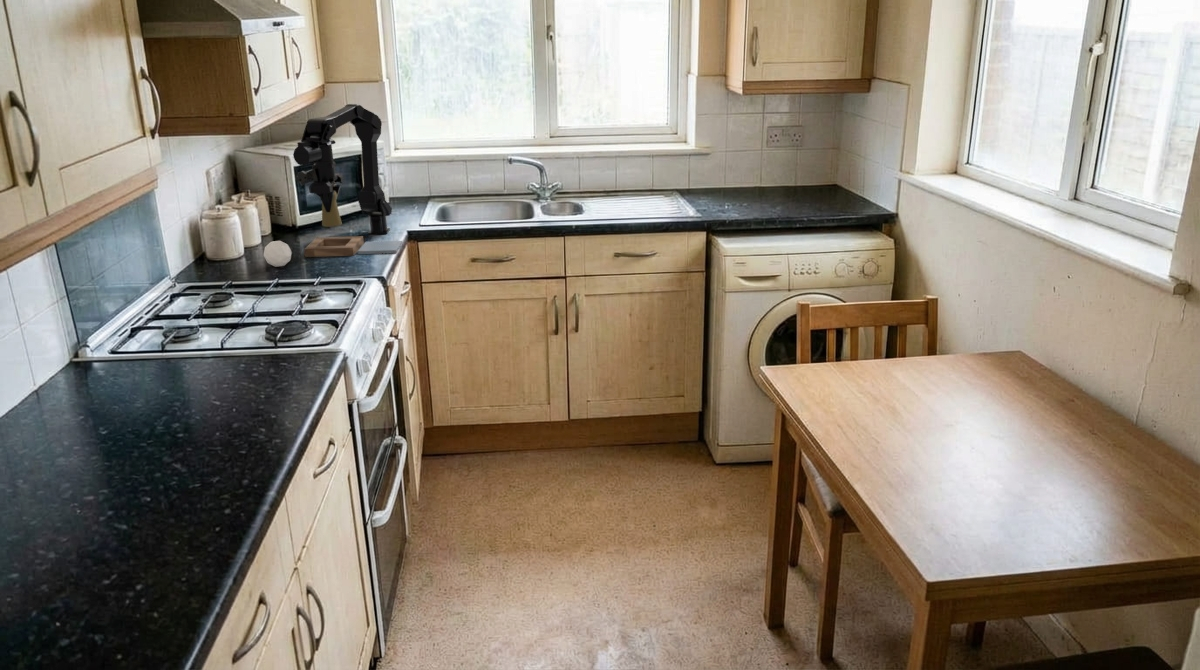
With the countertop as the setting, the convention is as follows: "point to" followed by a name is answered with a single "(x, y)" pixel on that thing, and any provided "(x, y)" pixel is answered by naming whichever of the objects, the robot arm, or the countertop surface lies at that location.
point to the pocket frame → (334, 246)
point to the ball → (277, 253)
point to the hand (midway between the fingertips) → (330, 210)
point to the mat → (380, 247)
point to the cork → (331, 215)
